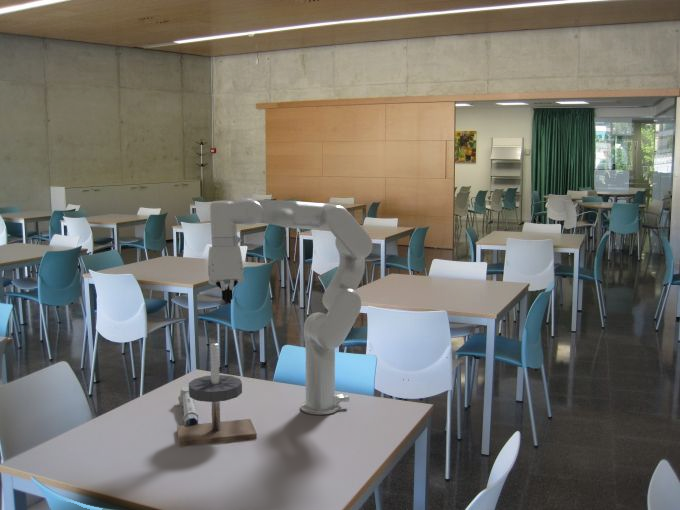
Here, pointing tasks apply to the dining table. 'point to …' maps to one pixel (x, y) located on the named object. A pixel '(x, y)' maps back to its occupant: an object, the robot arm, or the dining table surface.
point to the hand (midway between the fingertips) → (227, 302)
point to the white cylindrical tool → (188, 406)
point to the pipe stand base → (215, 432)
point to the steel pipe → (215, 381)
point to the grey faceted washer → (215, 388)
